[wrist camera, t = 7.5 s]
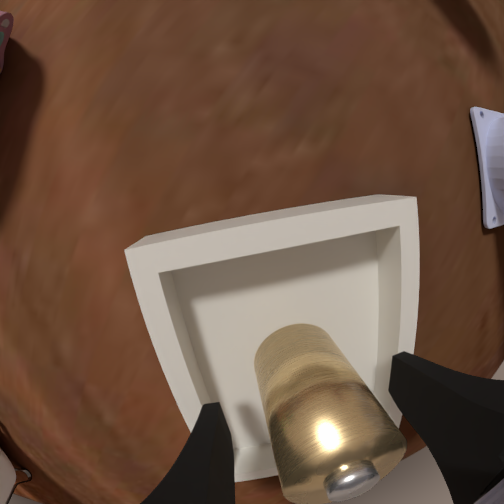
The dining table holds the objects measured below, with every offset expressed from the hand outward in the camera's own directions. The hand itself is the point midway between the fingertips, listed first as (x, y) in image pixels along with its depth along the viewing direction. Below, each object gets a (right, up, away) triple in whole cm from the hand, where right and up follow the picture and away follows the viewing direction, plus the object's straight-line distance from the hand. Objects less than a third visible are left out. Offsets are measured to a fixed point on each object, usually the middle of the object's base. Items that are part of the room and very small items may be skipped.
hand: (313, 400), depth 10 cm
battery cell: (0, +1, +3) cm, 3 cm away
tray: (0, +1, +4) cm, 4 cm away
